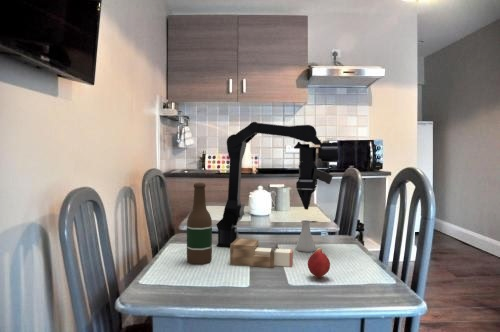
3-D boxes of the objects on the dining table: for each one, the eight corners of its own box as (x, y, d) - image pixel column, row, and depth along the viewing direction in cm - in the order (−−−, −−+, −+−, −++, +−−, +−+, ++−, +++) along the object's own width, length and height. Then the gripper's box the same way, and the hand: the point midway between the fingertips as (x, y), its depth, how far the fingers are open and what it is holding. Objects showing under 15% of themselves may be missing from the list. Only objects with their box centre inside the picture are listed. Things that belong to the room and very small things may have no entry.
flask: (315, 247, 127) (315, 219, 127) (317, 253, 120) (317, 223, 120) (294, 246, 128) (295, 218, 127) (295, 252, 121) (295, 222, 120)
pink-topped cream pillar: (244, 263, 108) (244, 250, 108) (247, 259, 112) (247, 246, 112) (291, 266, 105) (291, 253, 105) (292, 262, 109) (292, 249, 109)
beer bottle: (216, 259, 112) (217, 182, 111) (203, 266, 105) (203, 184, 104) (195, 256, 115) (195, 181, 114) (181, 263, 108) (181, 183, 107)
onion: (316, 283, 92) (317, 252, 91) (303, 276, 97) (303, 247, 96) (334, 279, 94) (334, 249, 94) (320, 273, 99) (320, 244, 99)
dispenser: (230, 264, 107) (230, 244, 107) (236, 257, 115) (236, 238, 114) (273, 267, 104) (273, 247, 104) (277, 259, 112) (277, 240, 112)
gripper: (332, 162, 112) (331, 212, 112) (331, 161, 130) (330, 204, 131) (296, 162, 114) (295, 211, 115) (300, 161, 132) (300, 203, 133)
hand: (307, 207), depth 123 cm, fingers open, 9 cm apart
